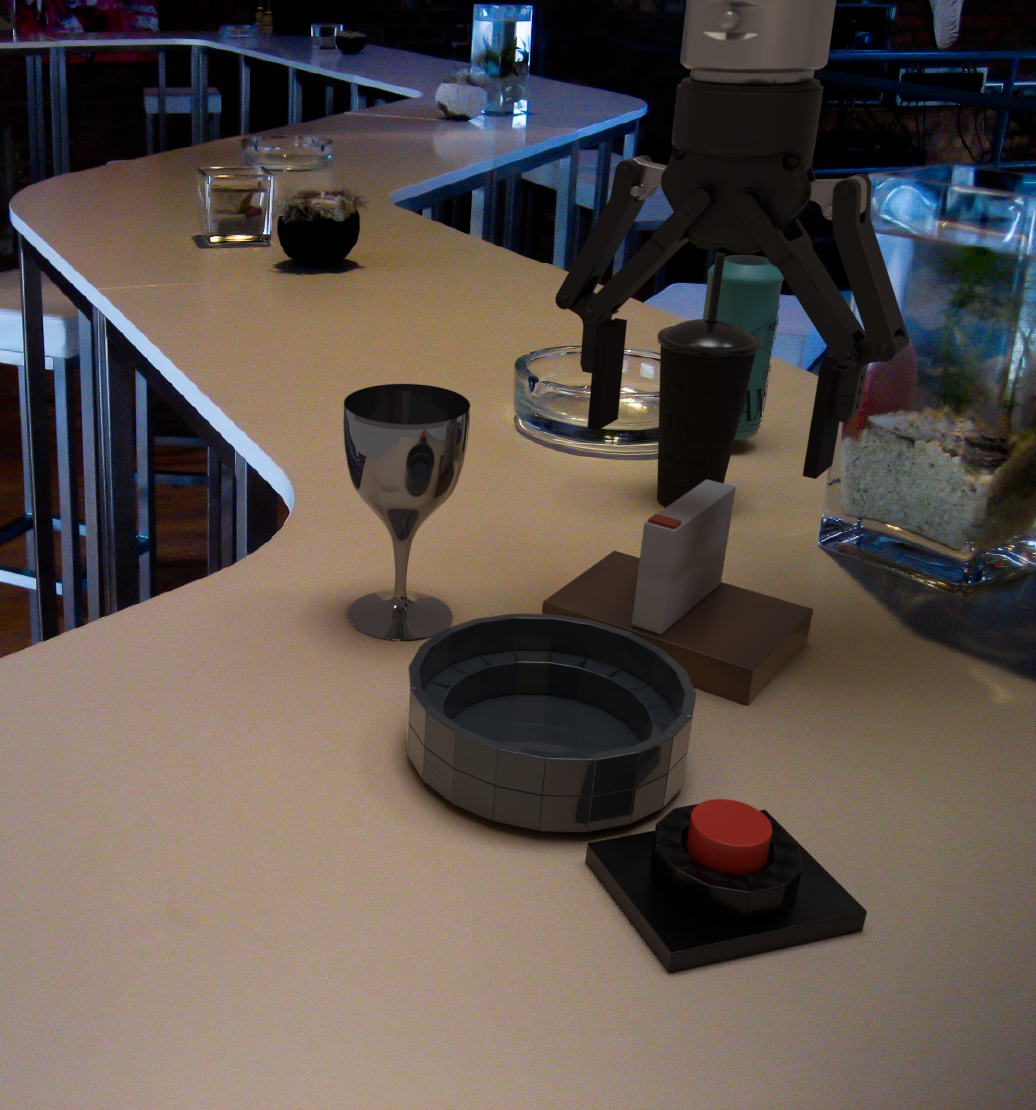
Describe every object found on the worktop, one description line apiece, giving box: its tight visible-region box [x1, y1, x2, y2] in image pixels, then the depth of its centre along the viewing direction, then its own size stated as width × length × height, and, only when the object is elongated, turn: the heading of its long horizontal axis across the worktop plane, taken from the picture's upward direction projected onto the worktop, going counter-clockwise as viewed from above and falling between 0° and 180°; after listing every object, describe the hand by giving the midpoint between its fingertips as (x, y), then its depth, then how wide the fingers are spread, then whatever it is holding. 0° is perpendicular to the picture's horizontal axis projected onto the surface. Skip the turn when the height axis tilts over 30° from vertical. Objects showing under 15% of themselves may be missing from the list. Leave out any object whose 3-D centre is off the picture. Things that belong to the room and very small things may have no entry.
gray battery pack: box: [632, 479, 736, 634], centre depth 82 cm, size 9×2×7 cm, turn 140°
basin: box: [405, 613, 697, 833], centre depth 71 cm, size 15×15×5 cm
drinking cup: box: [656, 252, 762, 508], centre depth 101 cm, size 8×8×20 cm
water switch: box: [584, 803, 868, 975], centre depth 61 cm, size 10×8×3 cm
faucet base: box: [541, 550, 814, 707], centre depth 84 cm, size 14×10×2 cm
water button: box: [687, 798, 772, 875], centre depth 60 cm, size 4×4×2 cm
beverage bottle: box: [702, 254, 785, 441], centre depth 113 cm, size 6×7×20 cm
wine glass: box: [342, 383, 471, 642], centre depth 84 cm, size 8×8×15 cm
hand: (704, 446), depth 79 cm, fingers open, 13 cm apart
